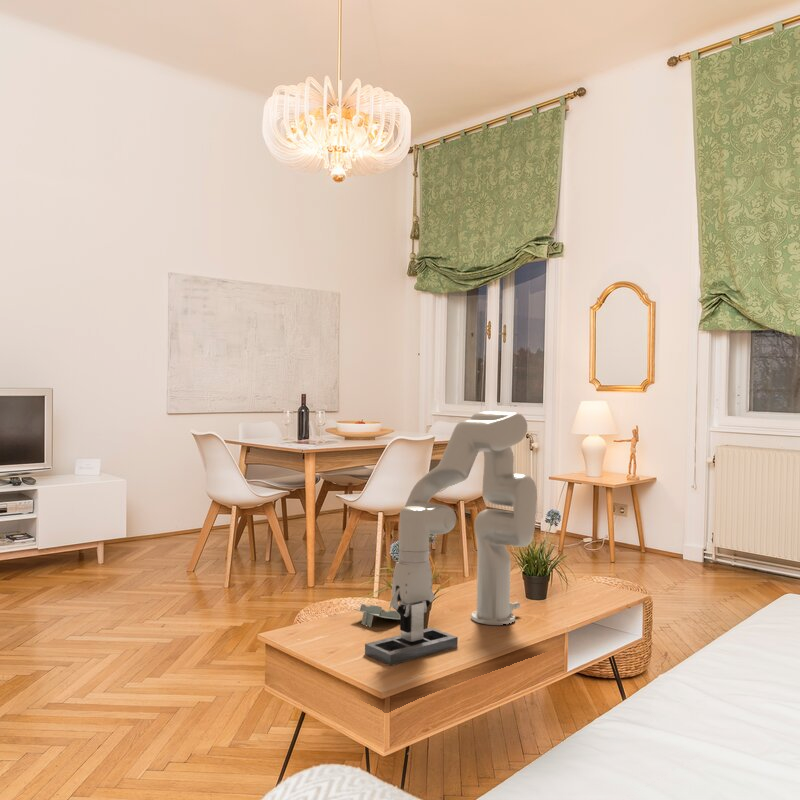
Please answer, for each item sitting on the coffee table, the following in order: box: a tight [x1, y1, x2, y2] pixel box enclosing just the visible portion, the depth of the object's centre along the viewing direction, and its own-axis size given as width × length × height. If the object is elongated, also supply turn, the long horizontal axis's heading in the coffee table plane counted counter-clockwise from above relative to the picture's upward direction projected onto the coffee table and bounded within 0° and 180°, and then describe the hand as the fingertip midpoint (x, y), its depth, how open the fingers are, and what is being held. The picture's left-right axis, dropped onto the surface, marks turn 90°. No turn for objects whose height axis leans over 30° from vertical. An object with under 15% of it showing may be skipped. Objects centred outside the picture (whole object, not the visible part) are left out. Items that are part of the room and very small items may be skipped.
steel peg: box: [400, 602, 425, 642], centre depth 181 cm, size 4×4×9 cm
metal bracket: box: [353, 603, 400, 628], centre depth 205 cm, size 14×6×15 cm
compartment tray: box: [364, 627, 458, 667], centre depth 181 cm, size 22×10×2 cm, turn 130°
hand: (412, 628), depth 181 cm, fingers closed on steel peg, 4 cm apart
